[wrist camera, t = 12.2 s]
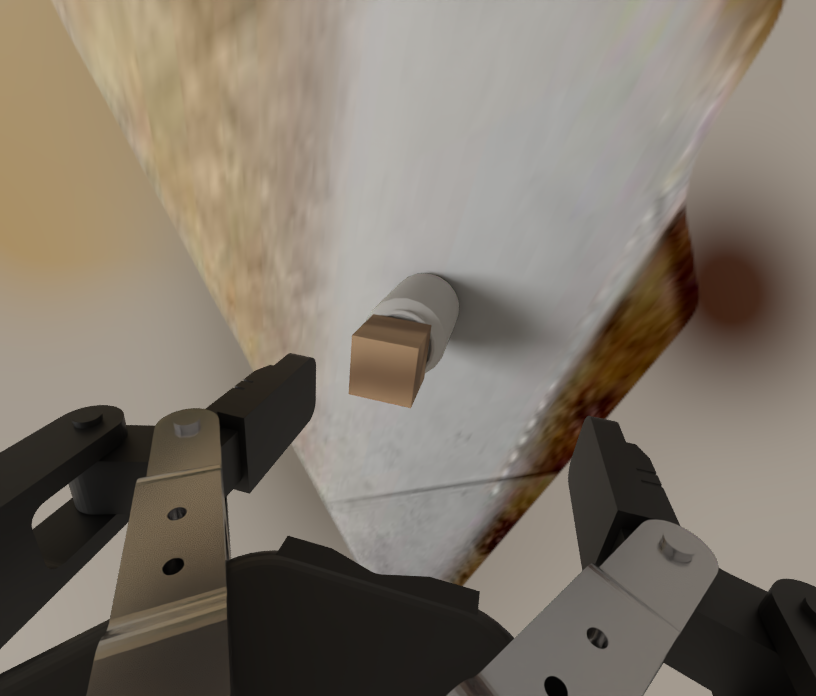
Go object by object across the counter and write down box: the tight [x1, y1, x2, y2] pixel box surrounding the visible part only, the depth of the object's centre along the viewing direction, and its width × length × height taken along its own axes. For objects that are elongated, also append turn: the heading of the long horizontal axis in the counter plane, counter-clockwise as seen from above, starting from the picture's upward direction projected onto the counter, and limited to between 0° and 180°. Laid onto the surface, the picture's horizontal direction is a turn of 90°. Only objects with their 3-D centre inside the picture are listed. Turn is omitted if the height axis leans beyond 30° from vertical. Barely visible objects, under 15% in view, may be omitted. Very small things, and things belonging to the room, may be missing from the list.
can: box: [366, 273, 459, 373], centre depth 41 cm, size 8×8×12 cm
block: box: [349, 314, 432, 408], centre depth 33 cm, size 5×5×5 cm
